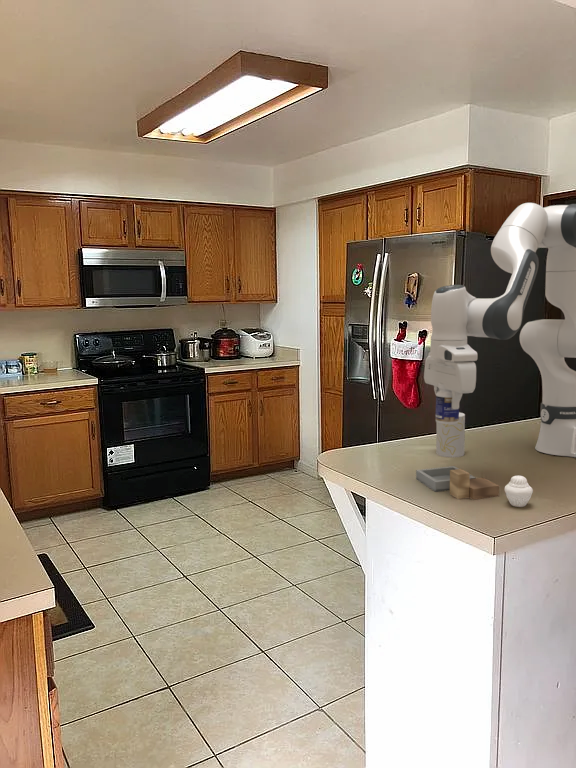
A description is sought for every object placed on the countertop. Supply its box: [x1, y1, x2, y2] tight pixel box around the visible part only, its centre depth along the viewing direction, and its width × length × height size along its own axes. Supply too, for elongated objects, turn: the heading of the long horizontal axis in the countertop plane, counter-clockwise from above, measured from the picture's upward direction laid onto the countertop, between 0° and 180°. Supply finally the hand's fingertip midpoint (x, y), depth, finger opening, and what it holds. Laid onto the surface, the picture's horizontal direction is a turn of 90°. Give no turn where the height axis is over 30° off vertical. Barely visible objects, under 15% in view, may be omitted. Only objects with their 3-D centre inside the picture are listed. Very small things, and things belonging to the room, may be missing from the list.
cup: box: [435, 411, 466, 458], centre depth 192 cm, size 8×8×12 cm
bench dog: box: [449, 468, 471, 500], centre depth 155 cm, size 3×4×6 cm
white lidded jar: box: [504, 474, 534, 508], centre depth 148 cm, size 6×6×7 cm
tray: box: [415, 465, 477, 493], centre depth 165 cm, size 11×11×2 cm
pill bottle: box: [435, 383, 460, 424], centre depth 162 cm, size 6×6×10 cm
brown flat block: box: [468, 477, 500, 501], centre depth 156 cm, size 7×7×3 cm
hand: (447, 406), depth 162 cm, fingers closed on pill bottle, 6 cm apart
